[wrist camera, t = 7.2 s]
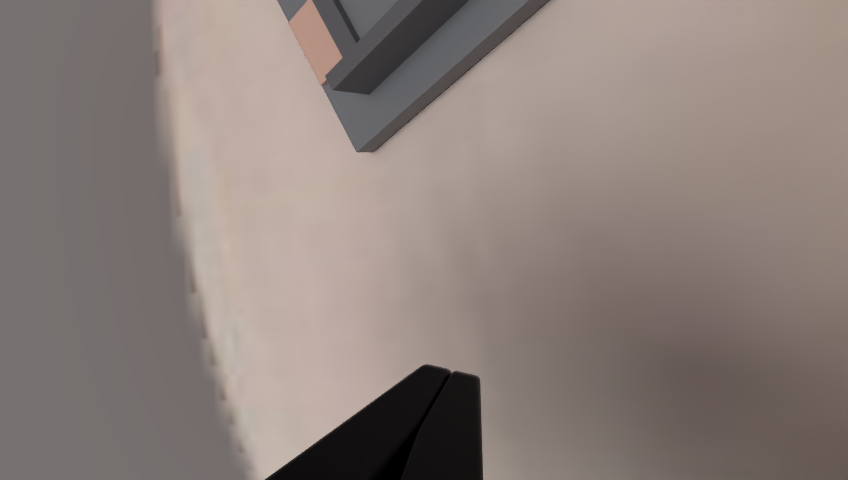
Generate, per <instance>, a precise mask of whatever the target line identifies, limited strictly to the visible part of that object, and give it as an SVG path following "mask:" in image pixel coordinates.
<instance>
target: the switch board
mask: <svg viewBox="0 0 848 480" xmlns="http://www.w3.org/2000/svg"><path fill="white" fill-rule="evenodd" d="M277 1H278V3H279V5H280V6H281V8H282V10H283V12H284V14H285V16H286V18H287V20H288V22H289V23H288V24H289V26H290V27H291V29H292V31H293V33H294V35H295V37H296V39H297V41H298V43H299V45H300V47H301V49H302V50H303V52H304V54H305V56H306V58H307V60H308V62H309V64H310V66H311V68H312V70H313V72H314V73H315V75H316V77H317V79H318V81H319V83H320V85H322V87H323V89H324V91H325V93H326V95H327V97H328V99H329V100H330V102H331V104H332V106H333V108H334V110H335V112H336V114H337V116H338V118H339V120H340V122H341V123H342V125H343V127H344V129H345V131H346V133H347V135H348V137H349V139H350V141H351V143H352V145H353V146H354V148H355V150H356V152H374V151H375V150H376V149H377V148H378V147H379V146H381V145H382V144H383V143H384V142H385V141H386V140H388V139H389V138H390V137H391V136H392V135H393V134H395V133H396V132H397V131H398V130H399V129H400V128H401V127H403V126H404V125H405V124H406V123H407V122H408V121H410V120H411V119H412V118H413V117H414V116H415V115H417V114H418V113H419V112H420V111H421V110H422V109H424V108H425V107H426V106H427V105H428V104H429V103H431V102H432V101H433V100H434V99H435V98H436V97H437V96H439V95H440V94H441V93H442V92H443V91H444V90H446V89H447V88H448V87H449V86H450V85H451V84H453V83H454V82H455V81H456V80H457V79H458V78H460V77H461V76H462V75H463V74H464V73H465V72H467V71H468V70H469V69H470V68H471V67H472V66H474V65H475V64H476V63H477V62H478V61H479V60H480V59H482V58H483V57H484V56H485V55H486V54H487V53H489V52H490V51H491V50H492V49H493V48H494V47H496V46H497V45H498V44H499V43H500V42H501V41H503V40H504V39H505V38H506V37H507V36H508V35H510V34H511V33H512V32H513V31H514V30H515V29H517V28H518V27H519V26H520V25H521V24H522V23H523V22H525V21H526V20H527V19H528V18H529V17H530V16H532V15H533V14H534V13H535V12H536V11H537V10H539V9H540V8H541V7H542V6H543V5H544V4H546V3H547V2H548V1H549V0H277Z"/></svg>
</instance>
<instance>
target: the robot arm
mask: <svg viewBox="0 0 848 480" xmlns="http://www.w3.org/2000/svg"><path fill="white" fill-rule="evenodd" d="M265 480H483V459H482V426H481V393H480V379H479V377H478V376H476V375H472V374H467V373H463V372H459V371H454V372H452V373H451V371H450V370H449V369H446V368H442V367H437V366H433V365H429V364H426V365H423V366H421V367H419V368H418V369H417V370H415V371H414V372H413V373H411V374H410V375H408V376H407V377H406V378H404V379H403V380H402V381H400V382H399V383H397V384H396V385H395V386H393V387H392V388H391V389H389V390H388V391H386V392H385V393H384V394H382V395H381V396H379V397H378V398H377V399H375V400H374V401H373V402H371V403H370V404H368V405H367V406H366V407H364V408H363V409H362V410H360V411H359V412H357V413H356V414H355V415H353V416H352V417H351V418H349V419H348V420H346V421H345V422H344V423H342V424H341V425H340V426H338V427H337V428H335V429H334V430H333V431H331V432H330V433H329V434H327V435H326V436H324V437H323V438H322V439H320V440H319V441H317V442H316V443H315V444H313V445H312V446H311V447H309V448H308V449H306V450H305V451H304V452H302V453H301V454H300V455H298V456H297V457H295V458H294V459H293V460H291V461H290V462H289V463H287V464H286V465H284V466H283V467H282V468H280V469H279V470H278V471H276V472H275V473H273V474H272V475H271V476H269V477H268V478H266V479H265Z"/></svg>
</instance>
